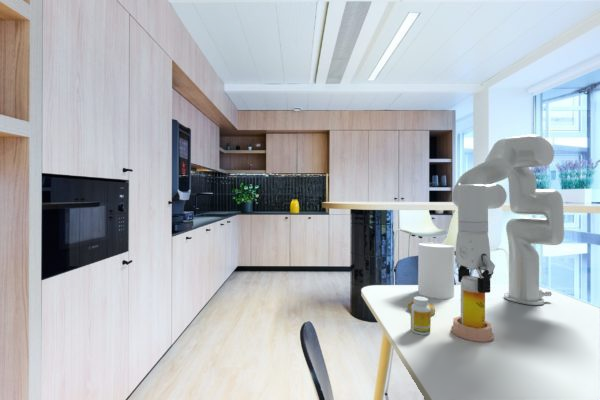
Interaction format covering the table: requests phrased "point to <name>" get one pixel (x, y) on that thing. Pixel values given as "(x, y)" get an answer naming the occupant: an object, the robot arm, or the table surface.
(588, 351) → the table surface
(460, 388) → the table surface
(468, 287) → the beer can
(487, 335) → the jar base
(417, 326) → the supplement bottle
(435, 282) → the canister
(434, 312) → the bread roll
